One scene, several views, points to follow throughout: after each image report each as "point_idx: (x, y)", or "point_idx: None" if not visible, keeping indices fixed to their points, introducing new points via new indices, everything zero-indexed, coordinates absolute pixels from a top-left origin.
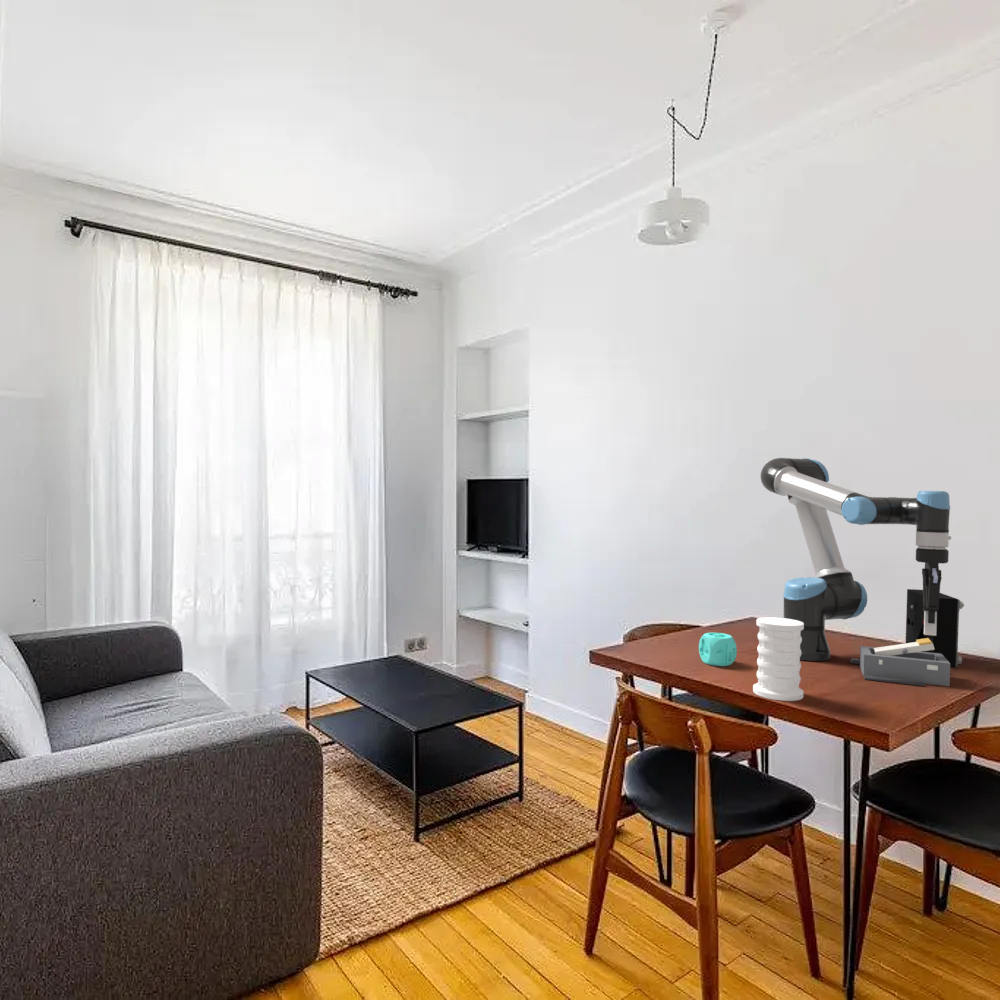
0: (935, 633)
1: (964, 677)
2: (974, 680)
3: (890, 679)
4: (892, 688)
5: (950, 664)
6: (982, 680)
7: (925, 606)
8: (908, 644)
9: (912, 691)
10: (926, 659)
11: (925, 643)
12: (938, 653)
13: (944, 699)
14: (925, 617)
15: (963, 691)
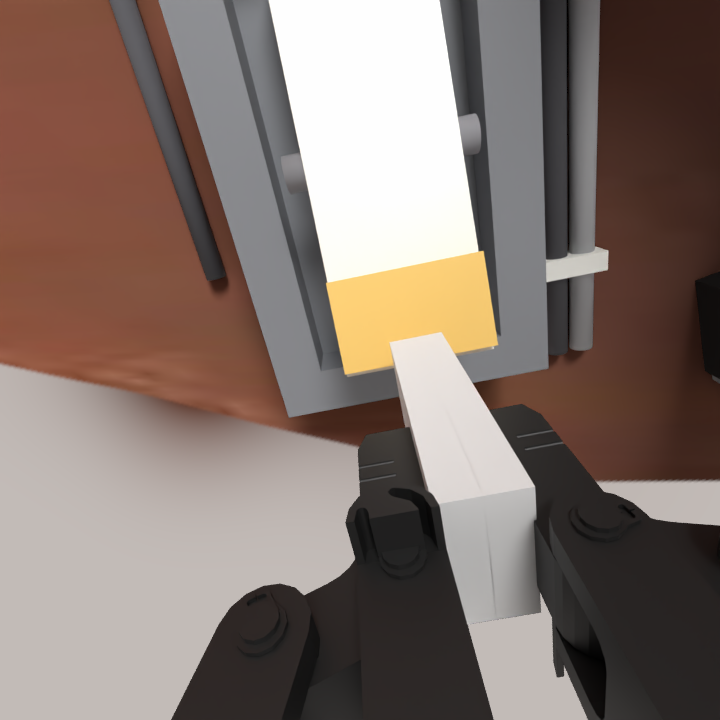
0: (405, 427)
1: None
2: None
3: (147, 109)
4: (39, 135)
5: (713, 357)
6: None
7: (561, 556)
8: (409, 193)
9: (68, 231)
10: None
11: (336, 328)
12: (545, 354)
13: (51, 356)
14: (414, 439)
15: (254, 409)
